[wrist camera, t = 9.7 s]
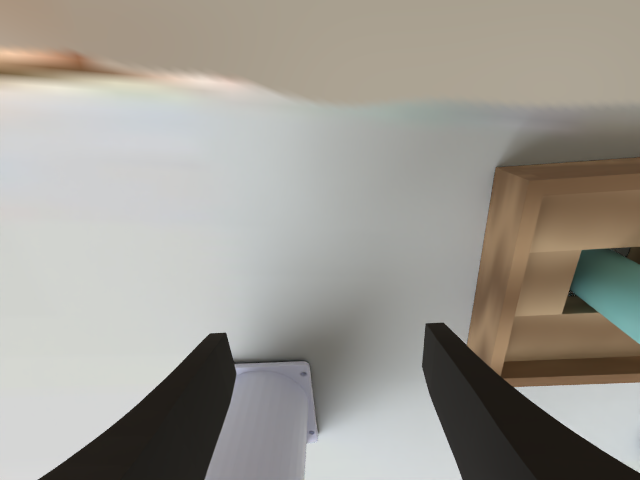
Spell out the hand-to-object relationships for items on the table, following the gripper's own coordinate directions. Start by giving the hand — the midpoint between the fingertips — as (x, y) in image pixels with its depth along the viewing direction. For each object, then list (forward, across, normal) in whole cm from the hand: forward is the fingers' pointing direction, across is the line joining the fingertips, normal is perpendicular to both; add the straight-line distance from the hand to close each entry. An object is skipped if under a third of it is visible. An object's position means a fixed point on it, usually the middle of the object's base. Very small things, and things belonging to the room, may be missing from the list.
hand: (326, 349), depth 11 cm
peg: (+9, -17, +3) cm, 20 cm away
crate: (+9, -17, +3) cm, 20 cm away
